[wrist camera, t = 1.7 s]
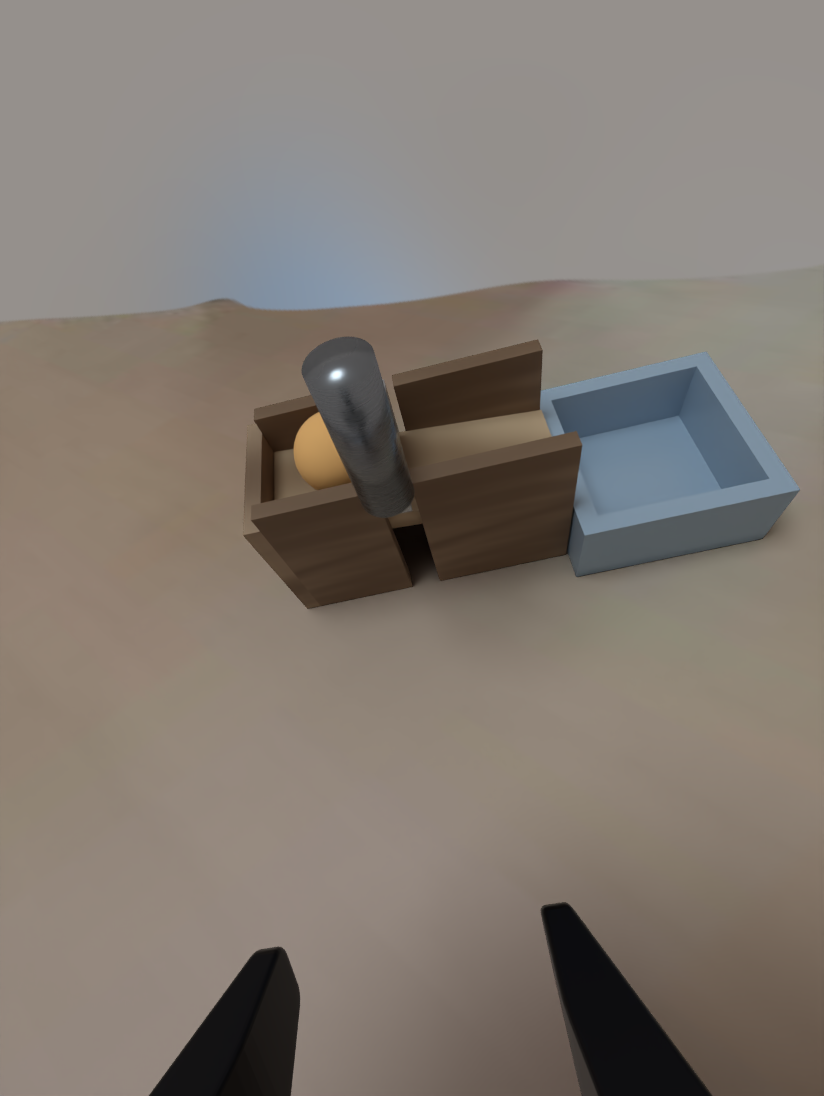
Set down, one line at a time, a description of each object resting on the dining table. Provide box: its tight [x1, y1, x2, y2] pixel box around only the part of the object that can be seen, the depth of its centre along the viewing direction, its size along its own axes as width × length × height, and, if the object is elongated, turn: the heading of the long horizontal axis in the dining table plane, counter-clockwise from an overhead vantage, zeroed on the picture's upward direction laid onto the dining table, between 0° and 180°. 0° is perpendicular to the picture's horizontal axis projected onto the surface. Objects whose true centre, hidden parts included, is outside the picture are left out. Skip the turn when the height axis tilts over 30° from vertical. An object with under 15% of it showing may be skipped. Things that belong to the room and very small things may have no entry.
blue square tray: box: [540, 352, 800, 577], centre depth 25 cm, size 9×9×4 cm
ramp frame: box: [243, 340, 582, 609], centre depth 24 cm, size 6×13×8 cm, turn 98°
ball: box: [293, 412, 352, 490], centre depth 21 cm, size 4×4×4 cm
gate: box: [302, 337, 415, 518], centre depth 18 cm, size 8×2×9 cm, turn 8°
